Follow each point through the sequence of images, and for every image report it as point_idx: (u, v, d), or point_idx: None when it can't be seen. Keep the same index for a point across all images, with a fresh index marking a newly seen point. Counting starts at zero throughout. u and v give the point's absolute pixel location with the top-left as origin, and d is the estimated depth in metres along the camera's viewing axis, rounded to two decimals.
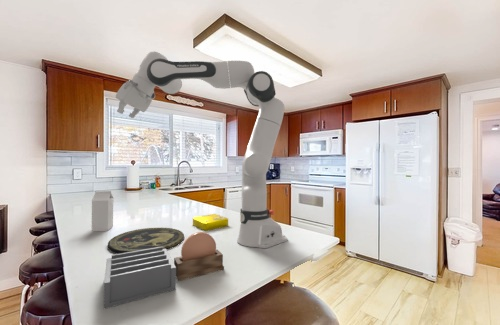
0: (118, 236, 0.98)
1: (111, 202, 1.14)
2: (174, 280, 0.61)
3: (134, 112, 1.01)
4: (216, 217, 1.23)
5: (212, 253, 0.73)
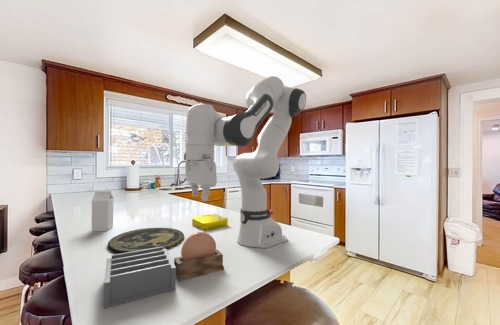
0: (118, 236, 0.98)
1: (111, 202, 1.14)
2: (174, 280, 0.61)
3: (194, 188, 0.76)
4: (215, 217, 1.23)
5: (212, 253, 0.73)
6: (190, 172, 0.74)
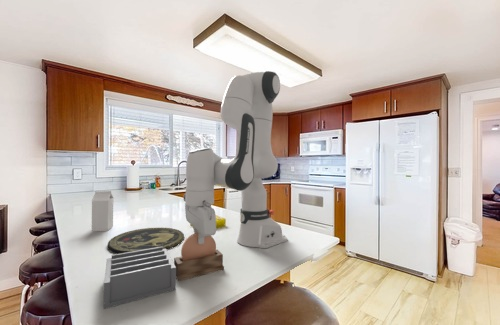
0: (118, 236, 0.98)
1: (111, 202, 1.14)
2: (174, 280, 0.61)
3: (197, 231, 0.73)
4: None
5: (212, 253, 0.73)
6: (190, 214, 0.74)
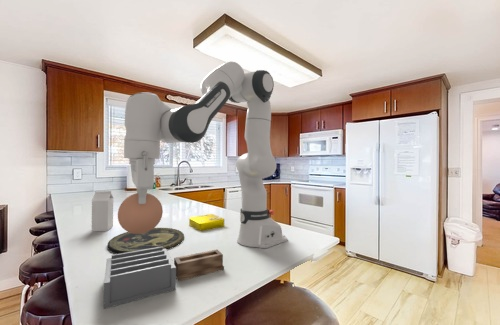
0: (118, 236, 0.98)
1: (111, 202, 1.14)
2: (174, 280, 0.61)
3: None
4: (212, 217, 1.23)
5: (157, 218, 0.63)
6: None
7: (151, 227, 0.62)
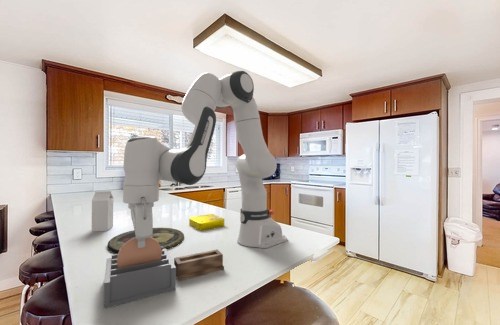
0: (117, 236, 0.98)
1: (111, 202, 1.14)
2: (174, 280, 0.61)
3: None
4: (212, 217, 1.23)
5: (157, 260, 0.63)
6: None
7: None
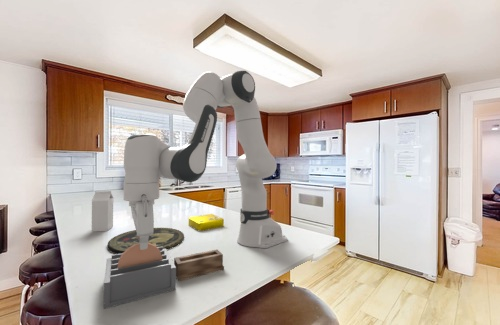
0: (117, 236, 0.98)
1: (111, 202, 1.14)
2: (174, 280, 0.61)
3: None
4: (212, 217, 1.23)
5: None
6: (133, 211, 0.64)
7: None
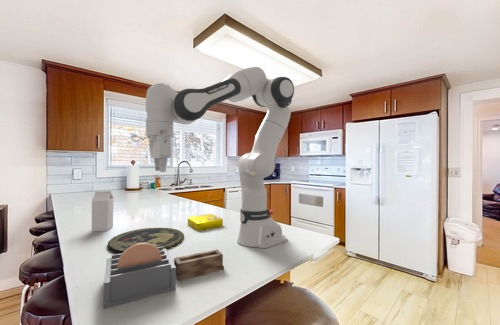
0: (117, 236, 0.98)
1: (111, 202, 1.14)
2: (174, 280, 0.61)
3: (157, 163, 0.83)
4: (211, 217, 1.23)
5: None
6: (152, 148, 0.81)
7: None
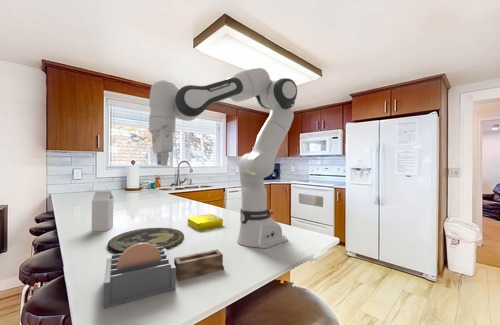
0: (117, 236, 0.98)
1: (111, 202, 1.14)
2: (174, 280, 0.61)
3: (159, 158, 0.85)
4: (211, 217, 1.23)
5: None
6: (155, 143, 0.83)
7: None
